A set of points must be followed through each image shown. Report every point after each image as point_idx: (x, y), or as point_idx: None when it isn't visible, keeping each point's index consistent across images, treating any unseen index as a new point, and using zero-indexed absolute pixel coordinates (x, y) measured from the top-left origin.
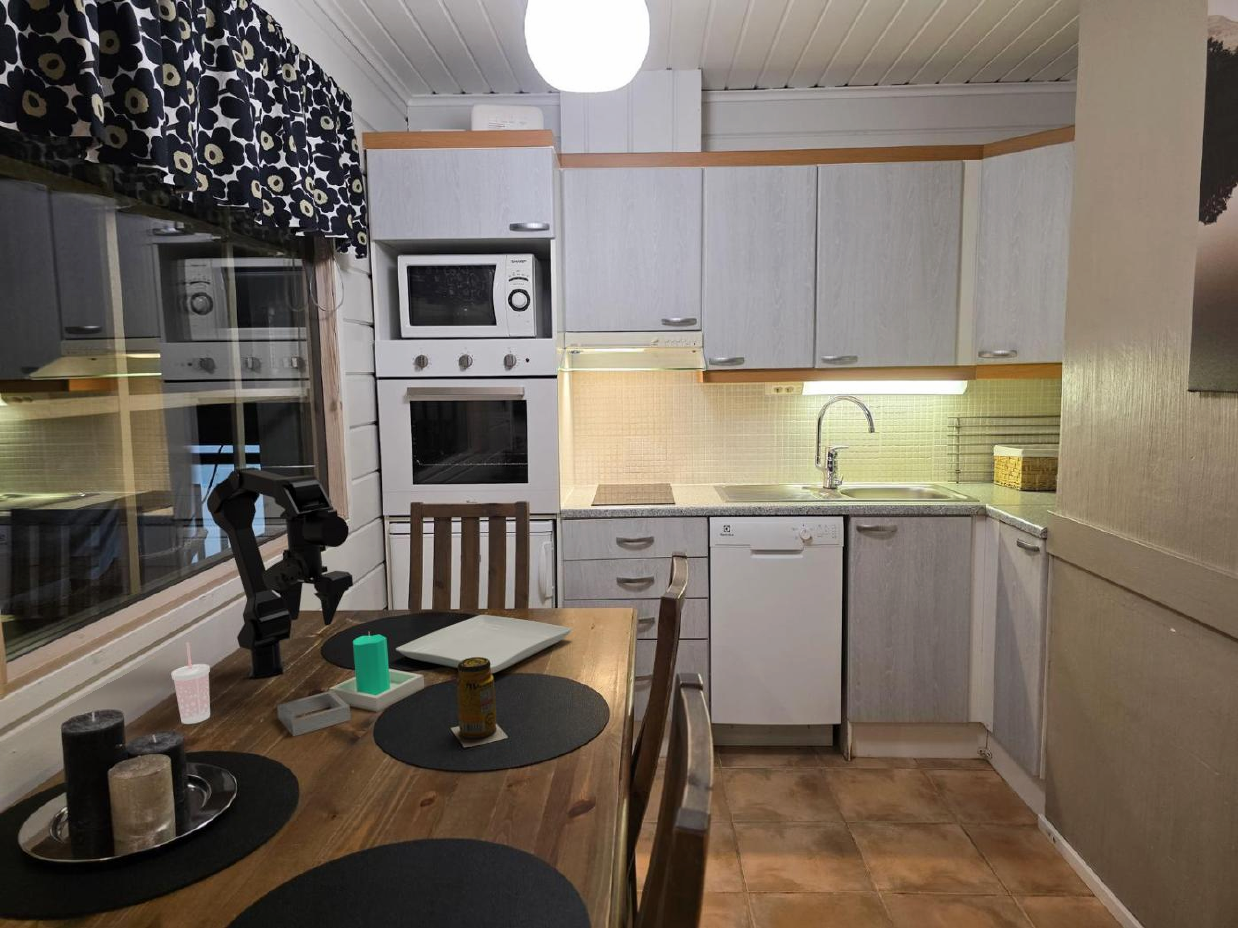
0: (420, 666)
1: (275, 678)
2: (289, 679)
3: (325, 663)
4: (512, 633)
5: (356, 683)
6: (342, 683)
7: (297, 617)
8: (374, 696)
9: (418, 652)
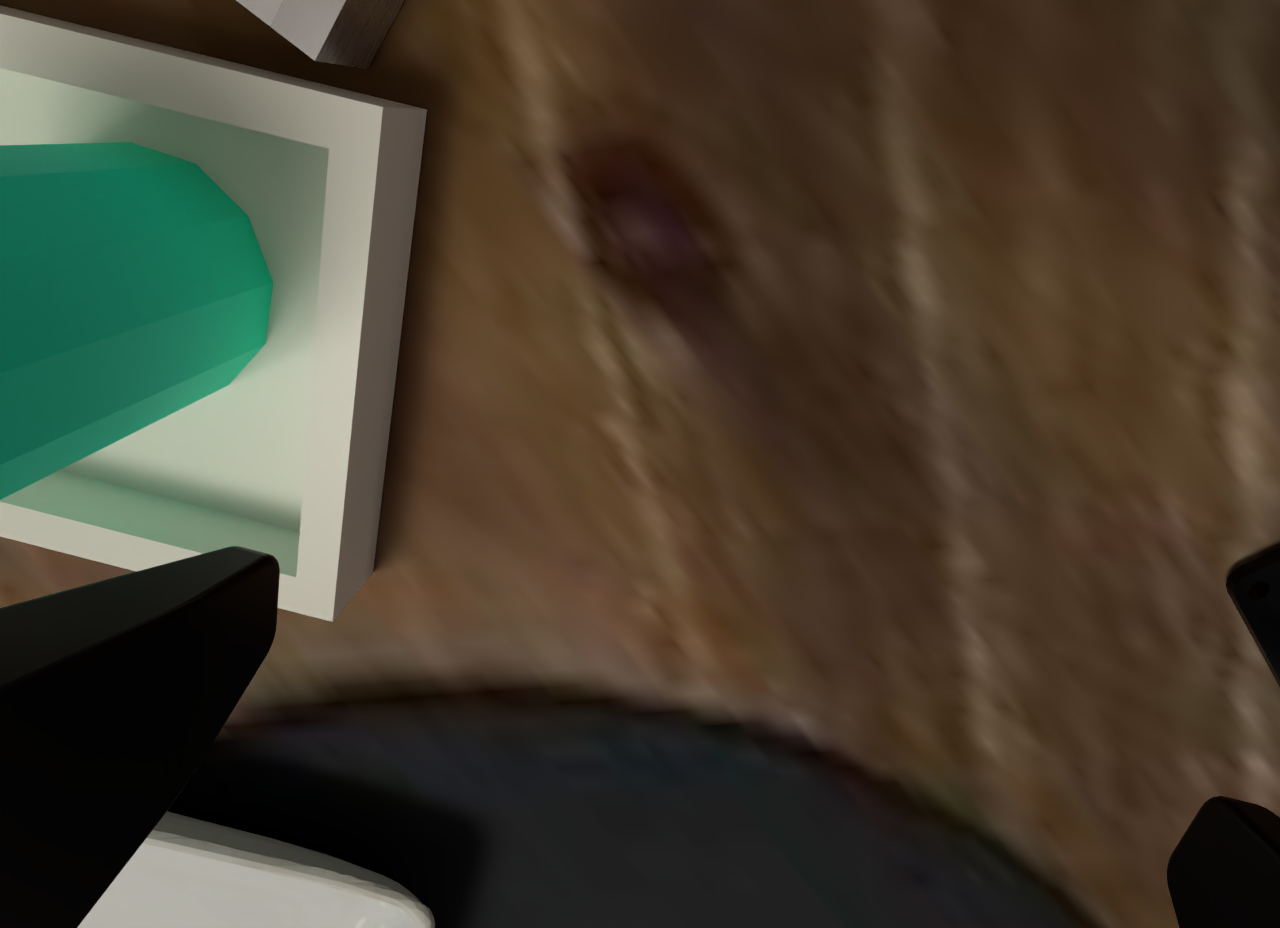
0: (254, 782)
1: (1245, 490)
2: (1095, 485)
3: (972, 791)
4: None
5: (171, 214)
6: (349, 243)
7: (1180, 890)
8: None
9: (187, 847)
